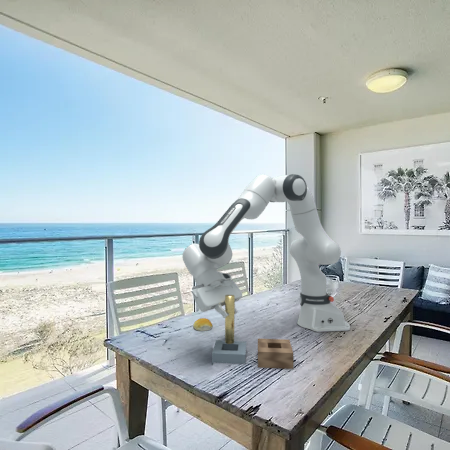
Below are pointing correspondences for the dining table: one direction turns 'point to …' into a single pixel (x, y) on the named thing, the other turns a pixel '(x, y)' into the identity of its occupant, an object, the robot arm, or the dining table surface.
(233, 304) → the brass peg
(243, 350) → the slate socket block
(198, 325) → the bread roll
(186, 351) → the dining table surface
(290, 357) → the walnut bore block
